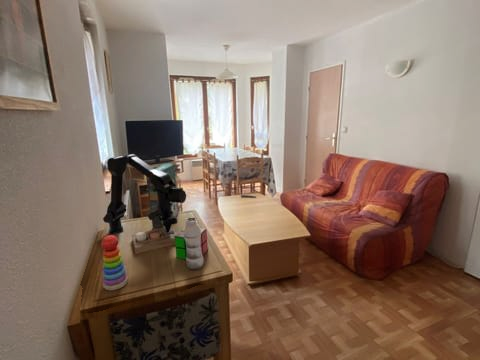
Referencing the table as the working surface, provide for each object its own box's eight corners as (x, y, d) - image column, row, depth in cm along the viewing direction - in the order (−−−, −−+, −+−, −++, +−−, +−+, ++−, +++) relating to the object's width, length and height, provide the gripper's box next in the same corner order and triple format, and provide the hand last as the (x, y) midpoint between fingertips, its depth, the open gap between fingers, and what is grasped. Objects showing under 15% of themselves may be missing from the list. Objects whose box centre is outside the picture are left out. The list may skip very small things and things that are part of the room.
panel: (132, 240, 122) (131, 234, 121) (172, 231, 130) (171, 225, 129) (135, 253, 110) (135, 247, 109) (179, 242, 118) (178, 236, 117)
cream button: (136, 239, 118) (135, 233, 117) (145, 237, 119) (145, 231, 119) (137, 243, 114) (136, 237, 113) (147, 241, 116) (146, 234, 115)
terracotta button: (150, 240, 121) (149, 233, 120) (159, 238, 123) (158, 231, 122) (151, 244, 117) (150, 237, 116) (161, 241, 119) (160, 235, 118)
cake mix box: (169, 212, 155) (164, 164, 147) (178, 212, 154) (174, 164, 146) (152, 228, 134) (145, 172, 126) (163, 228, 133) (157, 173, 125)
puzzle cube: (208, 249, 112) (206, 228, 109) (197, 261, 103) (195, 239, 100) (188, 246, 115) (186, 225, 112) (176, 257, 106) (173, 236, 103)
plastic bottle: (200, 272, 96) (196, 223, 91) (183, 270, 97) (179, 222, 92) (206, 262, 102) (202, 216, 97) (190, 261, 103) (186, 215, 98)
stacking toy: (112, 294, 85) (102, 244, 80) (98, 286, 89) (89, 238, 85) (132, 281, 92) (125, 234, 87) (119, 274, 96) (111, 229, 91)
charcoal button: (163, 237, 123) (162, 230, 123) (171, 235, 125) (171, 228, 124) (165, 240, 120) (164, 234, 119) (173, 238, 122) (173, 232, 121)
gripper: (143, 198, 122) (147, 228, 126) (149, 210, 106) (153, 244, 110) (166, 194, 127) (169, 223, 131) (175, 205, 111) (179, 238, 115)
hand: (167, 231), depth 122 cm, fingers closed, pressing on charcoal button
